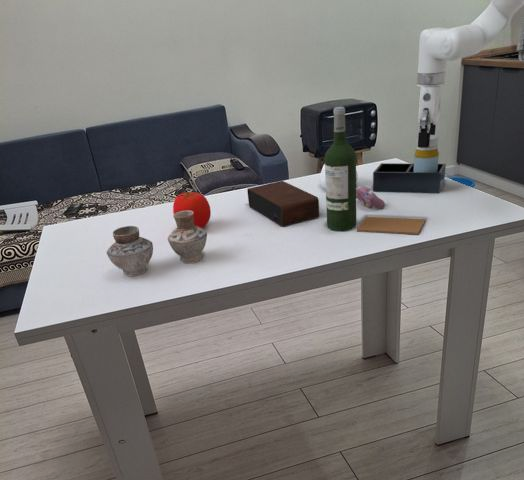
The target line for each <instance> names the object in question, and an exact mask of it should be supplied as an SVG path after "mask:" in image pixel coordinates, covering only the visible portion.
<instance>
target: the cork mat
mask: <svg viewBox="0 0 524 480" xmlns="http://www.w3.org/2000/svg"><path fill="white" fill-rule="evenodd" d="M425 223H426V219H425V218H408V217H386V216H385V217H384V216H368V215H367V216H365V217H364V219H363V221H361V222H360V225H359V226H358V227H357V229H356V232H360V233H375V234H376V233H377V234H394V235H410V236H413V235H414V236H419V235H420V233H421V231H422V229H423V227H424V225H425Z"/></svg>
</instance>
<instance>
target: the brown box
mask: <svg viewBox="0 0 524 480" xmlns="http://www.w3.org/2000/svg"><path fill="white" fill-rule="evenodd" d="M246 191H247V201H248V207H249V208H251V209H252V210H254V211H255V212H257V213H259V214H260V215H262V216H263V217H265V218H267V219H268V220H270V221H271V222H273V223H274V224H276V225H278V226H279V227H281V228H283V227H286V226H289V225H293V224H297V223H302V222H305V221H309V220H314V219H316V218H320V199H319V197H318V196H317V195H314V194H312V193H309V192H308V191H306V190H304V189H301V188H300V187H297V186H295V185H293V184H290V183H288V182H286V181H284V180H279V181H274V182H271V183H266V184H261V185H256V186H252V187H249V188H247V190H246Z"/></svg>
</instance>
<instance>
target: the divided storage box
mask: <svg viewBox="0 0 524 480" xmlns="http://www.w3.org/2000/svg"><path fill="white" fill-rule="evenodd" d="M446 167H447V163H438V170H437V173H427V172H414V163H406V162H405V163H398V162H397V163H395V162H394V163H392V162H389V163H388V162H387V163H386V162H385V163H384V162H381V163H380V164H379V165H378V166H377V167H376V168H375V169H374V171H373V172H372V192H373V193H375V192H376V193H407V194H408V193H410V194H440V192H441V191H442V189H443V187H444V184H445V179H446Z"/></svg>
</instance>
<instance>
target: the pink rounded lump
mask: <svg viewBox="0 0 524 480" xmlns="http://www.w3.org/2000/svg"><path fill="white" fill-rule="evenodd" d="M356 200H358V201H359V202H360V203H361V205H362V206H366V207H367V208H368V209H371V208H372V207H374V208H376V209H379V210H383V209H384V208H385V206H386V203H385V201H384V200H383V199H381V198H380V197H378V196H377V195H376V194H375V192H373V190H371V189H370V188H369V187H367V186H360V185H359V186H358V187H356Z"/></svg>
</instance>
